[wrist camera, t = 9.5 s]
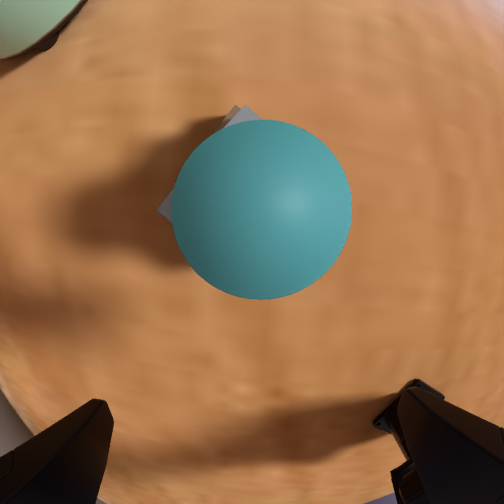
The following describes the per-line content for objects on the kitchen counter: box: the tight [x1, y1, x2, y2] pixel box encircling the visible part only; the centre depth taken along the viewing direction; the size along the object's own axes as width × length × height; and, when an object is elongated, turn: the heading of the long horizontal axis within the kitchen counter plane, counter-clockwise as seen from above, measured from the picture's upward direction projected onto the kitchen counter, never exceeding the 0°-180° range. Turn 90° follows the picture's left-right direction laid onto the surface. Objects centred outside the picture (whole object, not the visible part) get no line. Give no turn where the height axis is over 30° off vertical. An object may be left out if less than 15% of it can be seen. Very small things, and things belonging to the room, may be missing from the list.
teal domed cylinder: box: [171, 120, 352, 300], centre depth 10 cm, size 5×5×5 cm
